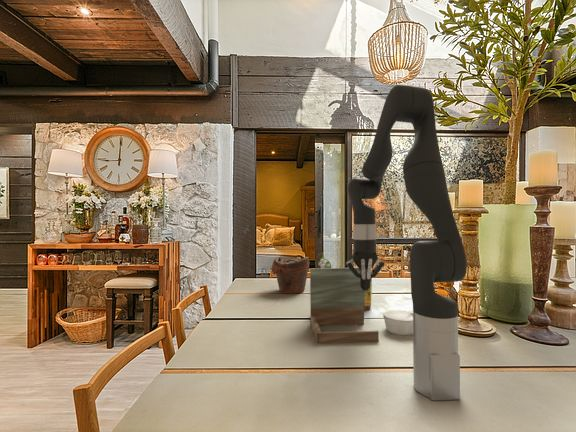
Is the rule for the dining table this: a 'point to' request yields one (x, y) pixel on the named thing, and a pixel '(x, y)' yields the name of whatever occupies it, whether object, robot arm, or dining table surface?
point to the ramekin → (399, 322)
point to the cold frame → (337, 305)
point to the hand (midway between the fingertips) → (365, 290)
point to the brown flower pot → (291, 274)
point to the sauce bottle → (368, 297)
